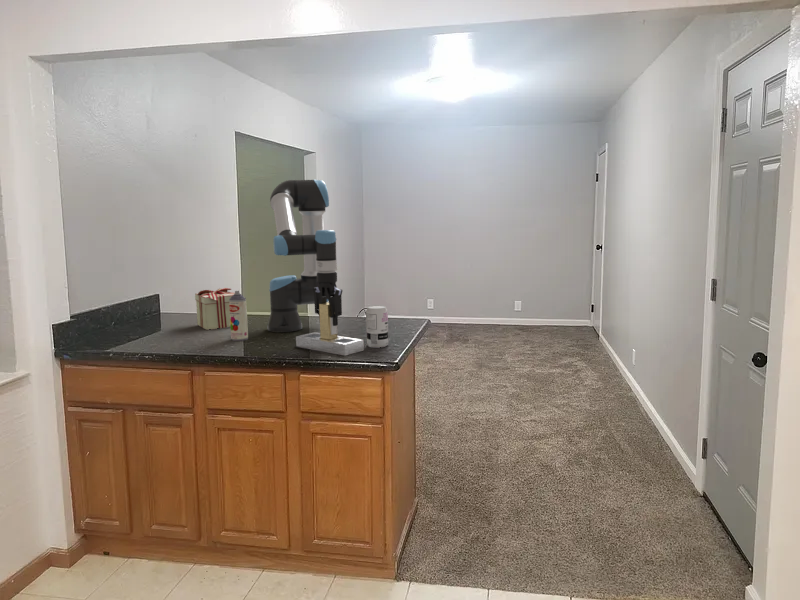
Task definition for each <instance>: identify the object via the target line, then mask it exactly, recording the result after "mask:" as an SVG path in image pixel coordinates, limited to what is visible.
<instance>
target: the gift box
mask: <svg viewBox="0 0 800 600" xmlns="http://www.w3.org/2000/svg"><path fill="white" fill-rule="evenodd" d="M231 290H232V288H231V287H230V288H228V287H224V288H217V289H216V290H211V289H205V290H204V289H203V290H200V291H198V293H195V294H194V298H195V299H194V300H195V302H196V303H195V304H196V318H197V319H196V321H197V322H196V323H197V326H199V327H200V328H202V329H204V330H206V331H209V329H211V330H218V329H217V328H220V329H228V328H227V327H229V328H231V327H230V310H229V299H230V298H231V297H232V296H233V295H234V294H235V292H233V291H232V292H230V291H231Z"/></svg>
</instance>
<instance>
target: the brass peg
mask: <svg viewBox="0 0 800 600" xmlns="http://www.w3.org/2000/svg"><path fill="white" fill-rule="evenodd" d="M319 311H320V321H319V330H320V331H319V333H320V337H321V339H324V340H333V339H337V336H338V333H337V334H333V335H331V331H330V316H331V311H330V305H329V301H328V302H327V303H323V304H319ZM334 314H335V313H334Z"/></svg>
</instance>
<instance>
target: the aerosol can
mask: <svg viewBox="0 0 800 600" xmlns="http://www.w3.org/2000/svg"><path fill="white" fill-rule="evenodd" d="M234 293H235V294H234V295H233V296H232V297H231V298H230V299H229V310H230V327H229V328H230V337H231V338H230V340H231V341H232V340H233V342H243V341H247V340H249V330H248V327H249V326H248V310H247V309H248V308H247V299H246V297H245V296H244V295H243V294H241V293H240V290H234Z"/></svg>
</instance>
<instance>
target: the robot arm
mask: <svg viewBox="0 0 800 600" xmlns="http://www.w3.org/2000/svg"><path fill="white" fill-rule="evenodd" d="M329 198H330V197H329V192H328V188H327V185H326V183H325V181H324V180H321V179H288V180H285V181H283V182H281V183H279V184H278V185H277V186H276V187H274V189H273V190H272V192H271V195H270V198H269V200H270V201H269V202H270V207H271V209H272V210H273V212H274V213H273V214H274V219H275V220H274V221H275V227H276V228H275V229H276V235H274V236H273V241H272V242H273V253H274V255H276V256H285V257H286V256H303V264H304V265H303V271H302V272H301V274H300V278H297V276H296V275H294V274H292V275H284V276H278V277H274V278H272V279H270V281H269V289H268V290H269V291H268V292H269V299H270V300H269V301H270V314H269V318H268V323H267V331H268V332H273V333H291V332H295V331H297V332H298V331H300V330H302V329H303V322H302V320H301V317H300V313H299V311H298V306H299V305H303V306H304V305H314V314H316V315H318V318H319V322H320V311H319V304H323V303H327V302H329V305H330V311H331V316H330V331H331V335H333V334H337V335H338V325H339V321H338V320H339V318H338V317H339V316H342V314H343V310H342V308H343V307H342V306H343V305H342V304H343V303H342V301H343V300H342V294H343V289H341V288H340V289H339V288H338V286H337V282H338V272H337V270H338V268H337V267H338V266H337V265H338V264H337V263H338V262H337V237H336V236H337V235H336V231H335V230H334V229H323V215H324V214H325V213H326V208H329V206H330V199H329ZM293 208H297V209H298V212H299V214H300V215H301V219H302V234H298V232H297V228H296V227H297V226H296V220H295V216H294V210H293ZM334 313H335V314H334Z"/></svg>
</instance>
